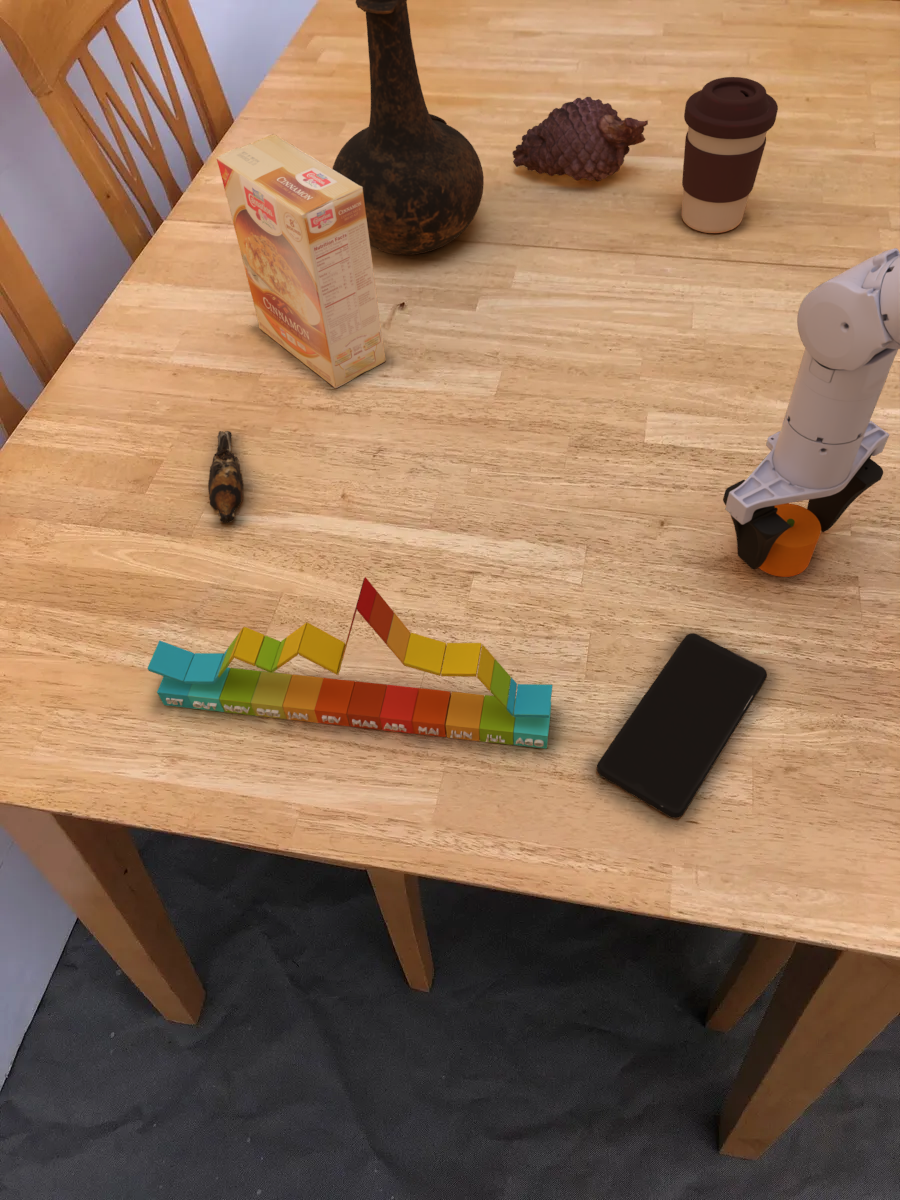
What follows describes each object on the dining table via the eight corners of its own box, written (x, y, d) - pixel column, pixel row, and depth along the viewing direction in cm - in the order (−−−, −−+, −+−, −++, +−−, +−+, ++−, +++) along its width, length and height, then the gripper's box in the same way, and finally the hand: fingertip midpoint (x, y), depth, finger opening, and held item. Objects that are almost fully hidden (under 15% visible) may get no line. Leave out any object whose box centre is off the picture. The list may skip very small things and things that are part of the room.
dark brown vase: (506, 211, 116) (504, -49, 94) (446, 288, 106) (429, 18, 84) (381, 187, 121) (352, -64, 99) (313, 259, 112) (264, -2, 90)
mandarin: (822, 558, 79) (835, 524, 75) (781, 586, 77) (793, 553, 74) (777, 524, 81) (788, 490, 78) (737, 551, 80) (746, 517, 76)
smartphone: (771, 669, 71) (679, 819, 64) (768, 675, 72) (677, 824, 65) (689, 628, 74) (593, 767, 67) (687, 634, 74) (592, 773, 67)
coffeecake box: (257, 328, 104) (212, 156, 88) (309, 302, 106) (275, 130, 91) (334, 391, 96) (300, 214, 81) (388, 361, 99) (365, 184, 83)
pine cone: (508, 196, 118) (497, 110, 115) (529, 198, 127) (519, 118, 124) (648, 167, 111) (639, 75, 108) (659, 171, 120) (652, 86, 117)
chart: (163, 708, 73) (95, 589, 61) (176, 674, 75) (113, 553, 63) (546, 752, 69) (553, 633, 57) (550, 715, 71) (558, 593, 59)
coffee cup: (663, 236, 111) (681, 106, 99) (676, 194, 116) (694, 66, 105) (748, 245, 108) (777, 113, 97) (757, 202, 114) (785, 73, 102)
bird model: (208, 537, 84) (200, 517, 82) (216, 438, 93) (209, 418, 91) (243, 532, 84) (236, 512, 82) (247, 434, 93) (241, 414, 91)
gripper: (859, 354, 72) (814, 480, 82) (712, 424, 68) (685, 547, 78) (931, 404, 68) (874, 529, 78) (779, 481, 64) (741, 602, 74)
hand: (783, 542), depth 78 cm, fingers open, 7 cm apart
